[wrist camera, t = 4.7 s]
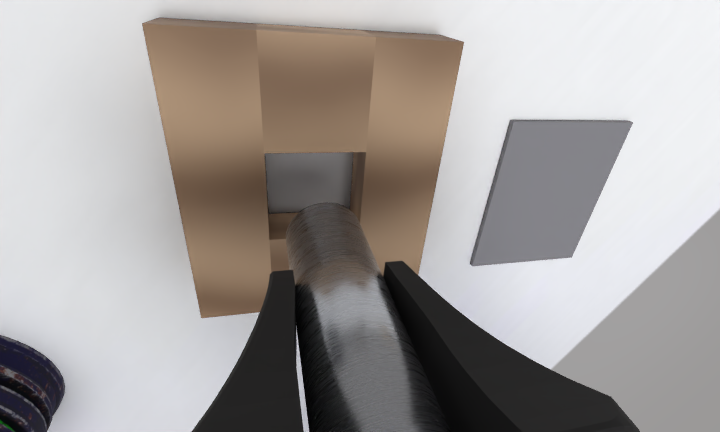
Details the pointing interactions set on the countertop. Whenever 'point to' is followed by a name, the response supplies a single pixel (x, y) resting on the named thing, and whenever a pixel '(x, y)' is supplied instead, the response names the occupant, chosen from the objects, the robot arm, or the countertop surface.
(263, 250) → the walnut hole block
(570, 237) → the rubber mat
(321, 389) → the steel peg
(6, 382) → the storage jar
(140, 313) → the countertop surface
